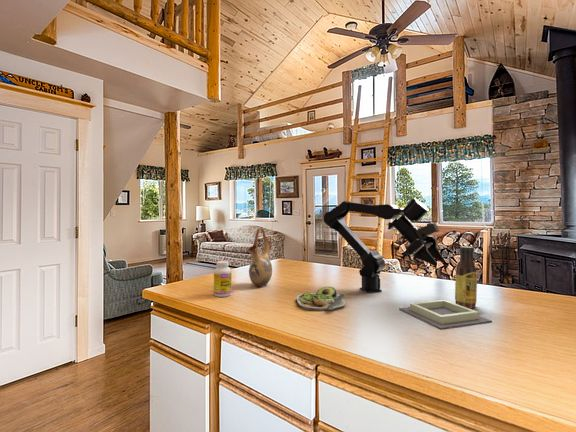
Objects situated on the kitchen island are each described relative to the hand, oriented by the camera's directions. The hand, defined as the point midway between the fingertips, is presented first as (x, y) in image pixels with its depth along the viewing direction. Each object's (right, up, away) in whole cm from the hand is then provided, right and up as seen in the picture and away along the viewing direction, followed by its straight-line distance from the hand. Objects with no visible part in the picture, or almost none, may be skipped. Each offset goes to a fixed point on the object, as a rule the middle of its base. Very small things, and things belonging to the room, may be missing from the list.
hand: (440, 263), depth 111 cm
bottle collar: (-6, -14, -14) cm, 20 cm away
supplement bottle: (-78, -14, +12) cm, 80 cm away
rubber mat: (-6, -14, -14) cm, 20 cm away
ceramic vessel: (-65, -14, +26) cm, 71 cm away
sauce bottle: (+6, -14, -5) cm, 16 cm away
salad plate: (-41, -15, +1) cm, 44 cm away
